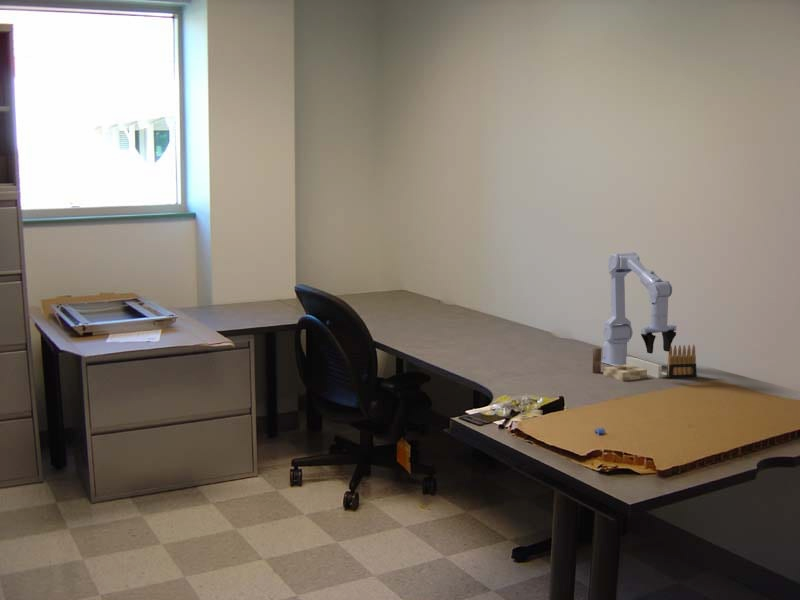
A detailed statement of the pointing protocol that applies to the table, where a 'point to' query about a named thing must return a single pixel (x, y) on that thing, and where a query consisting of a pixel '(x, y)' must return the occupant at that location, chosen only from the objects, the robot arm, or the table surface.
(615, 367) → the block
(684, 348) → the ammunition clip
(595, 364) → the dowel
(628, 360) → the white rectangular slab
